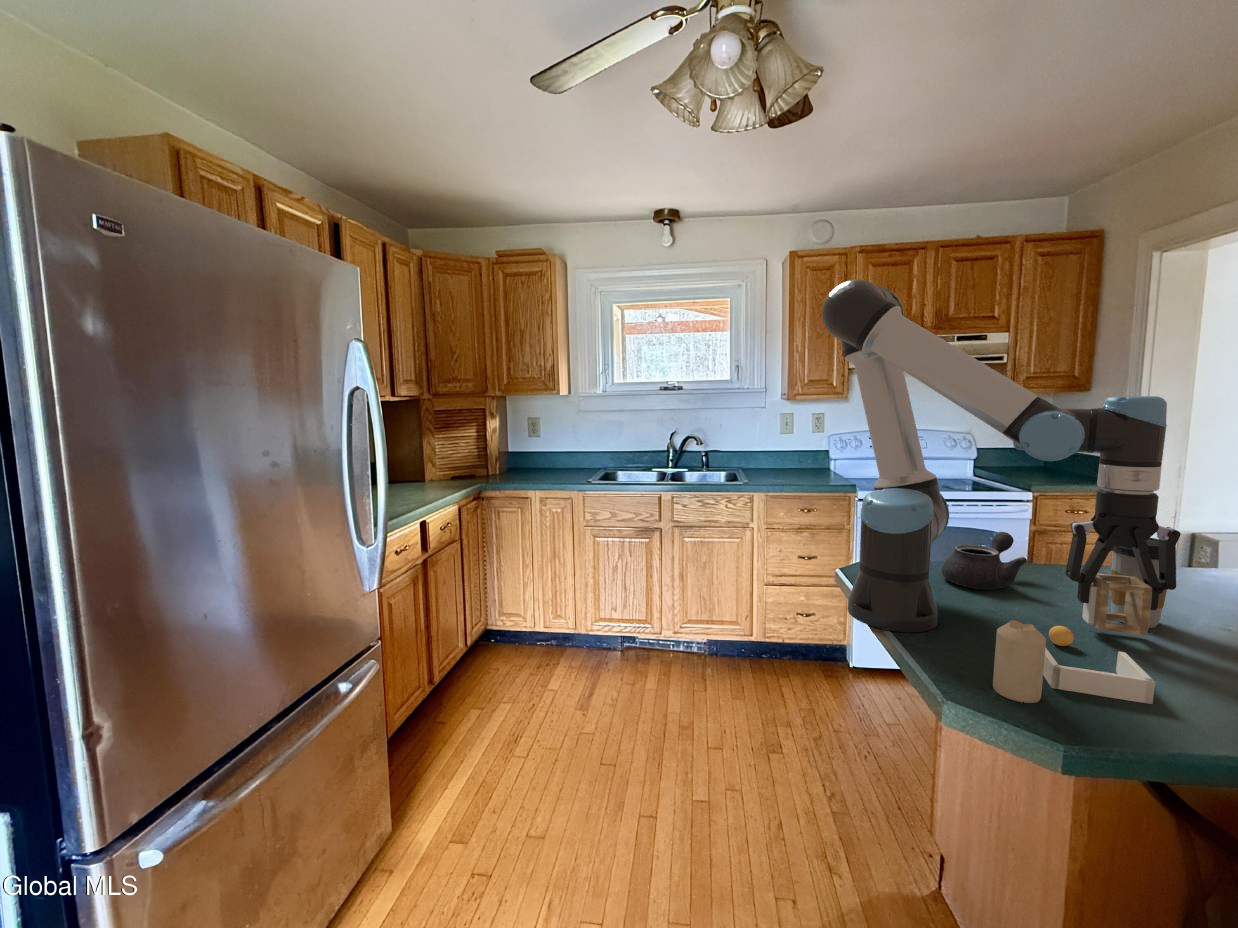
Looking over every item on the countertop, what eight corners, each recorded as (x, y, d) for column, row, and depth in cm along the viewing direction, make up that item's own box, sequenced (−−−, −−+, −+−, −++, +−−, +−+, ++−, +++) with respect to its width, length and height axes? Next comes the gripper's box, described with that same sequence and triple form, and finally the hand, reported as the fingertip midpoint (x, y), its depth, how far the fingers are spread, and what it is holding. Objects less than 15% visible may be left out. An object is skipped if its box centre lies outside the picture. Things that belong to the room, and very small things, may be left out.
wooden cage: (1097, 629, 91) (1101, 583, 90) (1084, 616, 97) (1087, 572, 96) (1147, 635, 89) (1152, 588, 88) (1130, 621, 94) (1134, 576, 93)
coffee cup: (1179, 632, 94) (1190, 548, 92) (1123, 629, 96) (1132, 546, 94) (1144, 613, 102) (1153, 535, 100) (1093, 610, 104) (1100, 533, 102)
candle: (983, 683, 79) (988, 617, 78) (1018, 681, 79) (1024, 615, 78) (1013, 704, 74) (1019, 634, 72) (1051, 702, 74) (1058, 632, 73)
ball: (1051, 647, 90) (1053, 628, 89) (1045, 639, 92) (1046, 621, 92) (1075, 650, 88) (1077, 631, 88) (1068, 642, 91) (1070, 624, 91)
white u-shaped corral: (1051, 687, 78) (1053, 666, 77) (1033, 659, 86) (1034, 639, 85) (1152, 704, 73) (1155, 681, 73) (1122, 672, 81) (1125, 652, 81)
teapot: (1016, 602, 109) (1019, 553, 107) (932, 582, 120) (934, 538, 119) (1041, 580, 121) (1045, 536, 120) (962, 564, 133) (965, 524, 131)
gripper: (1062, 491, 90) (1051, 624, 93) (1220, 497, 83) (1203, 642, 85) (1047, 484, 97) (1037, 608, 100) (1192, 489, 89) (1177, 623, 92)
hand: (1114, 623), depth 93 cm, fingers closed on wooden cage, 6 cm apart
